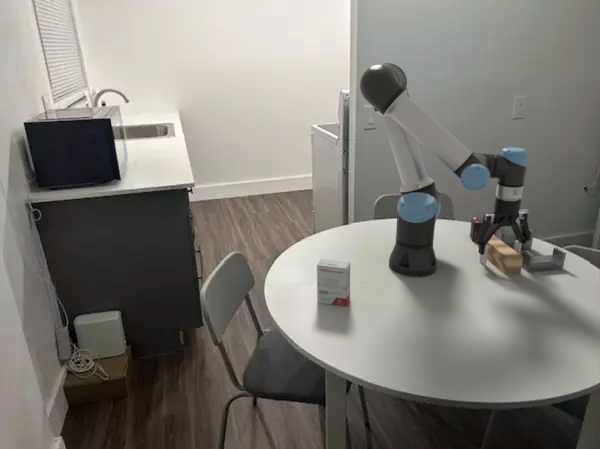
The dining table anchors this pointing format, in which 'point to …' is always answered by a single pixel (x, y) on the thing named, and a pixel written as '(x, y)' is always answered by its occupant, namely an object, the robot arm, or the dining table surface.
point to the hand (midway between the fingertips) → (499, 261)
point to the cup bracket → (509, 237)
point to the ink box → (333, 282)
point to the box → (475, 227)
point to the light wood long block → (504, 257)
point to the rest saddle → (543, 261)
